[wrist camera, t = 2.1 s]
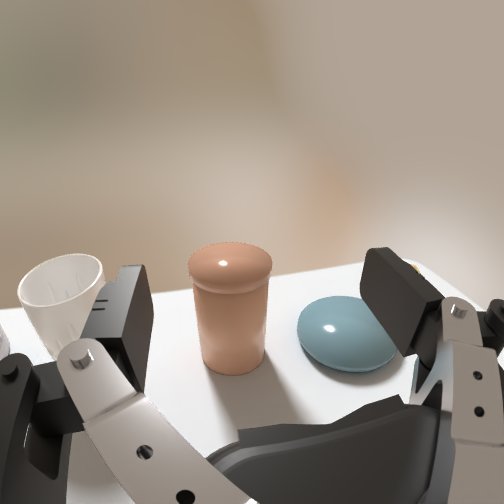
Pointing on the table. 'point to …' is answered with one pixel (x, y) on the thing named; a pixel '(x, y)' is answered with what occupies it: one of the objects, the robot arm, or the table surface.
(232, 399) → the table surface
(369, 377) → the table surface
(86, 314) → the white cup
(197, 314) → the dome-topped peach cylinder
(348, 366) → the blue-grey round disc
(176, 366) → the table surface
